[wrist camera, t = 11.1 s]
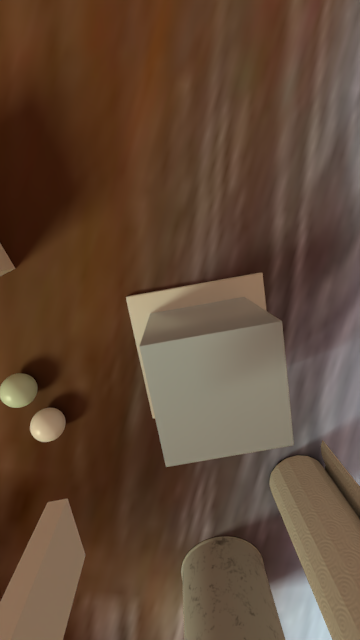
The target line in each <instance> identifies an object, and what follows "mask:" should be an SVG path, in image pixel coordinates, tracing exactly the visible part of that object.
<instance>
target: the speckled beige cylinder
mask: <svg viewBox="0 0 360 640" xmlns="http://www.w3.org/2000/svg"><path fill="white" fill-rule="evenodd" d="M181 574H182V584H183V614H184V640H285V637H284V634H283V630H282V627H281V623H280V620H279V616H278V613H277V610H276V606H275V603H274V599H273V596H272V592H271V589H270V586H269V582H268V579H267V575H266V572H265V568H264V562H263V559H262V556H261V554H260V553H259V551H258V550H257V548H256V547H254V546H253V545H252V544H251V543H249V542H247V541H245V540H244V539H240V538H237V537H230V536H220V537H214V538H210V539H207V540H205V541H203V542H200V543H198V544H197V545H196V546H194V547H193V548H192V549H191V550H190V551H189V552H188V553H187V555H186V556H185V558H184V560H183V563H182V568H181Z"/></svg>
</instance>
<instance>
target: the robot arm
mask: <svg viewBox="0 0 360 640" xmlns="http://www.w3.org/2000/svg"><path fill="white" fill-rule="evenodd" d="M84 559H85V552H84V549H83V546H82V543H81V539H80V536H79V533H78V530H77V527H76V524H75V521H74V517H73V514H72V511H71V508H70V505H69V502H68V499H62V500H57V501H51V502H47V504H46V507H45V509H44V511H43V513H42V515H41V517H40V519H39V521H38V523H37V525H36V528H35V530H34V532H33V534H32V536H31V538H30V540H29V542H28V544H27V547H26V549H25V551H24V553H23V555H22V557H21V559H20V561H19V563H18V565H17V568H16V570H15V572H14V574H13V576H12V578H11V580H10V582H9V584H8V586H7V589H6V591H5V593H4V595H3V597H2V599H1V601H0V640H63V637H64V633H65V630H66V626H67V622H68V618H69V615H70V611H71V607H72V604H73V600H74V596H75V592H76V589H77V585H78V581H79V577H80V574H81V570H82V566H83V562H84Z"/></svg>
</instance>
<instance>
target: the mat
mask: <svg viewBox="0 0 360 640" xmlns="http://www.w3.org/2000/svg"><path fill="white" fill-rule="evenodd" d="M239 297H246V298H247V299H249V300H250V301H252V302H253V303H255V304H256V305H258V306H259V307H261V308H263V309H264V310H266V301H265V292H264V282H263V273H261V272H260V273H255V274H249V275H243V276H238V277H232V278H227V279H221V280H215V281H210V282H204V283H199V284H193V285H187V286H182V287H176V288H171V289H165V290H159V291H154V292H148V293H143V294H137V295H131V296H127V297H126V300H127V305H128V309H129V314H130V318H131V323H132V327H133V332H134V336H135V341H136V345H137V350H138V354H139V359H140V363H141V368H142V372H143V377H144V381H145V386H146V390H147V395H148V399H149V404H150V408H151V413H152V417H153V418H155V415H154V410H153V406H152V401H151V397H150V392H149V388H148V383H147V379H146V374H145V369H144V365H143V360H142V356H141V351H140V347H139V346H140V343H141V340H142V337H143V334H144V331H145V328H146V325H147V322H148V319H149V315H150V313H155V312H161V311H166V310H172V309H178V308H183V307H189V306H194V305H200V304H206V303H211V302H217V301H223V300H228V299H234V298H239Z"/></svg>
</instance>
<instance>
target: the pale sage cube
mask: <svg viewBox="0 0 360 640" xmlns="http://www.w3.org/2000/svg"><path fill="white" fill-rule="evenodd" d="M139 347H140V351H141V356H142V360H143V365H144V369H145V374H146V379H147V383H148V388H149V392H150V397H151V401H152V406H153V410H154V415H155V419H156V424H157V429H158V433H159V438H160V442H161V447H162V451H163V456H164V460H165V465H166V467H169V466H175V465H181V464H187V463H193V462H199V461H204V460H210V459H216V458H222V457H228V456H234V455H240V454H245V453H251V452H257V451H263V450H269V449H275V448H280V447H286V446H292V445H294V443H293V432H292V421H291V411H290V400H289V389H288V379H287V368H286V357H285V347H284V336H283V325H282V321H281V320H280V319H278V318H276V317H275V316H273V315H272V314H270V313H269V312H267V311H266V310H264V309H263V308H261V307H259V306H258V305H256V304H255V303H253V302H252V301H250V300H249V299H247V298H246V297H239V298H234V299H228V300H223V301H217V302H211V303H206V304H200V305H194V306H189V307H183V308H178V309H172V310H166V311H161V312H155V313H150V315H149V319H148V322H147V325H146V328H145V331H144V334H143V337H142V340H141V343H140V346H139Z"/></svg>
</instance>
